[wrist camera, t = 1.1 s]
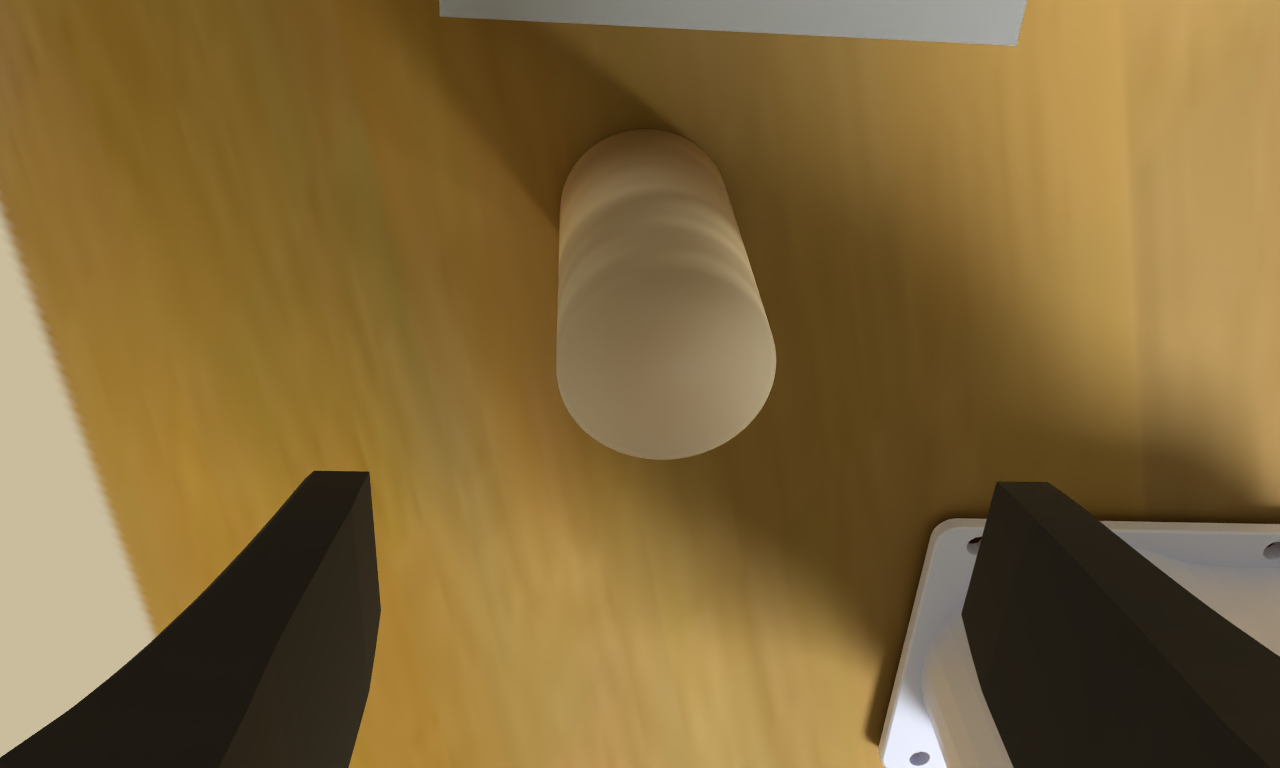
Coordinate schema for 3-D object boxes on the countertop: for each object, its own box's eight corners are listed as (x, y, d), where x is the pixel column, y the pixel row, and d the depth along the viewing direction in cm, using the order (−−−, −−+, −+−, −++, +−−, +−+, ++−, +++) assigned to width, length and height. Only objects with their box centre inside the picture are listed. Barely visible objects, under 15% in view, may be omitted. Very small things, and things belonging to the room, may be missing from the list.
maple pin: (736, 132, 21) (789, 273, 16) (719, 288, 22) (762, 462, 17) (562, 125, 21) (558, 264, 15) (558, 283, 22) (553, 458, 17)
